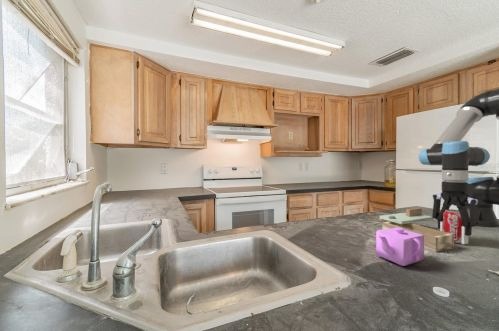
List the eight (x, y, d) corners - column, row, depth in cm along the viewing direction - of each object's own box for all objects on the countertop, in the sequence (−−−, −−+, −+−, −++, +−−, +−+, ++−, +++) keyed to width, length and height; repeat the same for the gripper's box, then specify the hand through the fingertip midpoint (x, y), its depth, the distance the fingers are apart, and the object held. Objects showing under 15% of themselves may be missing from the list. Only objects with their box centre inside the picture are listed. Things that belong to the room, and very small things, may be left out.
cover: (401, 224, 90) (401, 214, 90) (379, 218, 99) (379, 209, 99) (433, 219, 97) (433, 210, 97) (409, 214, 106) (409, 205, 106)
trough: (398, 231, 97) (398, 220, 97) (453, 248, 79) (453, 234, 78) (382, 234, 94) (382, 222, 94) (435, 252, 75) (435, 237, 75)
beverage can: (469, 245, 81) (469, 213, 81) (449, 243, 83) (450, 212, 82) (457, 239, 88) (457, 209, 87) (439, 238, 89) (439, 208, 89)
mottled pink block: (400, 276, 60) (400, 239, 60) (357, 255, 73) (357, 225, 72) (438, 263, 67) (438, 230, 67) (392, 247, 80) (393, 219, 80)
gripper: (421, 179, 92) (420, 233, 93) (482, 184, 74) (481, 251, 75) (432, 179, 95) (432, 231, 95) (494, 183, 77) (493, 248, 77)
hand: (453, 240), depth 85 cm, fingers closed on beverage can, 6 cm apart
